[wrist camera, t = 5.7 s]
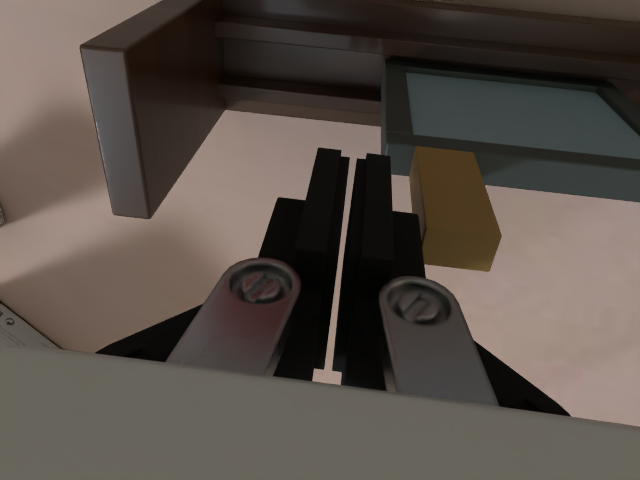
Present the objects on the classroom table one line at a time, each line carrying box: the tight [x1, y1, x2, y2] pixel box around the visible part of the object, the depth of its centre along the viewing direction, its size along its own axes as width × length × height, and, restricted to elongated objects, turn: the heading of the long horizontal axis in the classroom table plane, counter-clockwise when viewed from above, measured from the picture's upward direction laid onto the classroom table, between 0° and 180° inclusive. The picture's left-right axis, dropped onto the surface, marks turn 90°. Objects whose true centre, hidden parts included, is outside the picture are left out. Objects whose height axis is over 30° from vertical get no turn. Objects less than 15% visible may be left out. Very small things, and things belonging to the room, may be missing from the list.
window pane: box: [381, 59, 640, 272], centre depth 15 cm, size 1×9×12 cm, turn 86°
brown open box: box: [80, 0, 640, 219], centre depth 17 cm, size 5×20×10 cm, turn 86°
